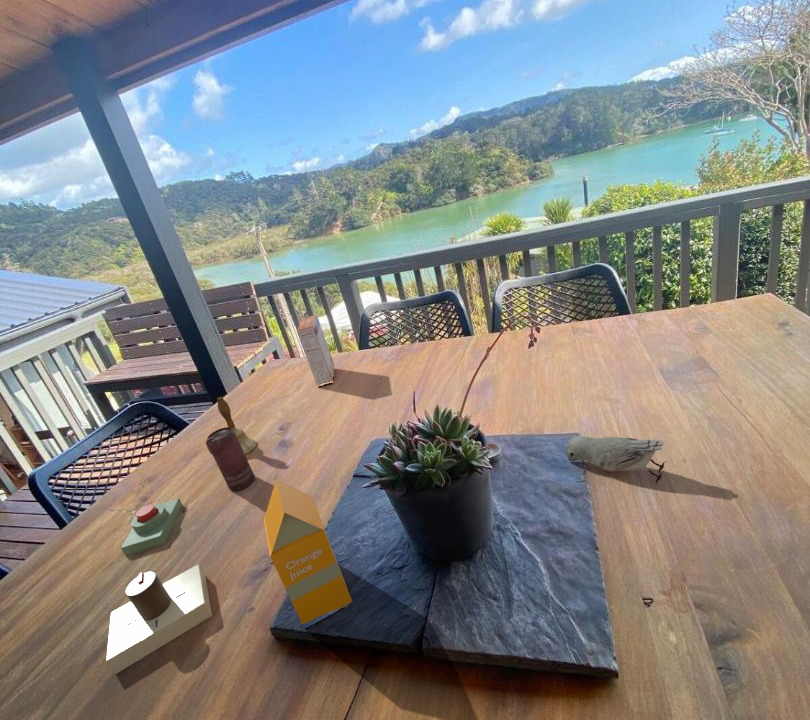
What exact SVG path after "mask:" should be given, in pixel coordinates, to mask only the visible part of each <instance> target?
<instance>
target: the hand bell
mask: <svg viewBox="0 0 810 720" xmlns="http://www.w3.org/2000/svg"><path fill="white" fill-rule="evenodd" d="M216 401H217V410H218V412H219V414H220V415H221V416H222V418H223V419H224V421H225V422H226V425H227V427H230V428H231V429H232V430H234V432H235V434H236V436H237V438H238V441H239V443H240V445H241V447H242V449H243V452H244V454H245V456H246V455H248V454H249V453H251V452H252V451H253V450H254V449H256V447H257V444H258V443H257V441H256V440H255V439H253V438H251V437H250V436H249V437H248V435H247V434H246V432H245V431H244V430H243V429H242V428H240V427H239V428H237V427H236V424H235V423H234V420H233V418H232V412H231V408H230V406H229V404H228V402H227V401H226V400H225V399H224V398H223V397H222V396H219V397H217V398H216Z"/></svg>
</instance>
